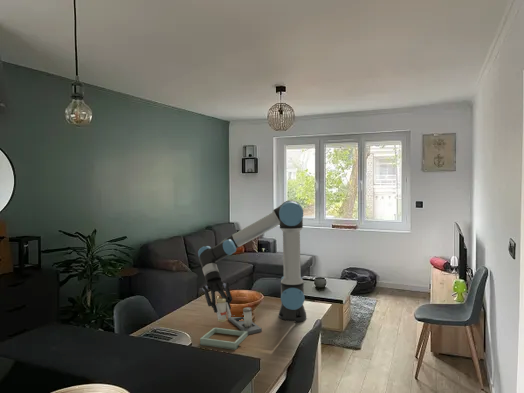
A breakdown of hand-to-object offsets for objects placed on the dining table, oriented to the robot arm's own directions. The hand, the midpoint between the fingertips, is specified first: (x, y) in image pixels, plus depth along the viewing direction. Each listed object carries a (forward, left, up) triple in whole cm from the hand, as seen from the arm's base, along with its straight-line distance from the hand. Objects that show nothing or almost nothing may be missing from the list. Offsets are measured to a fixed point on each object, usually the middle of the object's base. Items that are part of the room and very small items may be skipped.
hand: (224, 317), depth 180 cm
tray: (+2, -3, -13) cm, 13 cm away
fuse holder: (0, -22, -13) cm, 25 cm away
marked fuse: (+3, -3, -3) cm, 5 cm away
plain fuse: (-4, -18, -12) cm, 22 cm away
